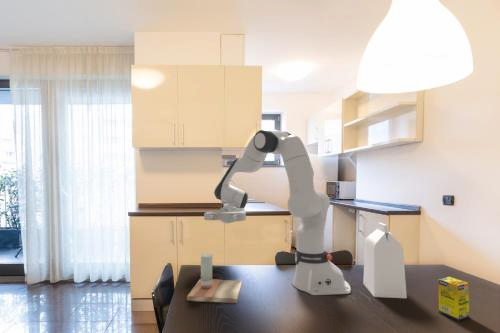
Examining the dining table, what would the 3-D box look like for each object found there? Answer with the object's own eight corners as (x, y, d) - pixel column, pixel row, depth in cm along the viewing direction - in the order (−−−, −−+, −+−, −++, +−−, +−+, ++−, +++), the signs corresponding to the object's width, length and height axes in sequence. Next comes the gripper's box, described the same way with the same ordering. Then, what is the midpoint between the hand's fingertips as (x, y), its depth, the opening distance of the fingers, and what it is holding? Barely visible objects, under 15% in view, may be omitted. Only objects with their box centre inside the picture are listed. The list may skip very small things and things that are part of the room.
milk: (363, 283, 109) (362, 221, 110) (392, 284, 108) (390, 221, 109) (374, 296, 97) (372, 226, 98) (406, 298, 96) (405, 227, 97)
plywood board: (242, 284, 108) (242, 280, 108) (236, 303, 92) (236, 298, 92) (199, 282, 109) (199, 278, 109) (186, 300, 93) (187, 295, 94)
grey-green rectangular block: (213, 284, 103) (213, 254, 103) (210, 289, 99) (210, 257, 99) (202, 284, 103) (202, 253, 104) (199, 289, 99) (199, 257, 100)
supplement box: (459, 321, 80) (457, 285, 81) (438, 312, 86) (437, 278, 86) (470, 317, 83) (469, 282, 83) (449, 309, 88) (448, 276, 89)
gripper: (207, 208, 134) (200, 211, 121) (247, 207, 133) (244, 210, 119) (207, 220, 134) (200, 225, 120) (247, 220, 132) (244, 224, 118)
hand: (222, 218), depth 120 cm, fingers open, 8 cm apart
